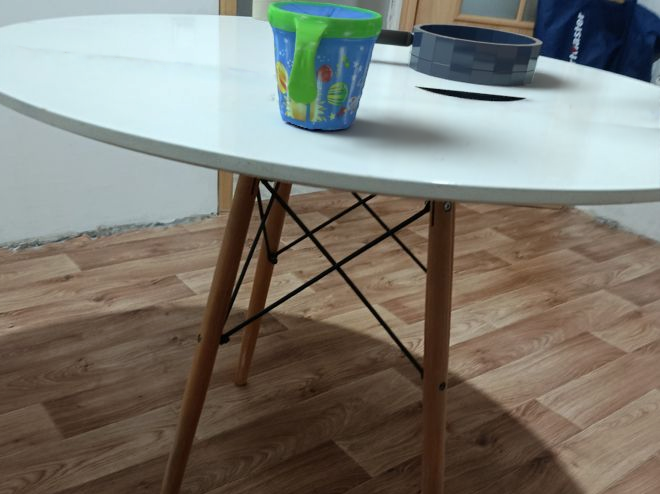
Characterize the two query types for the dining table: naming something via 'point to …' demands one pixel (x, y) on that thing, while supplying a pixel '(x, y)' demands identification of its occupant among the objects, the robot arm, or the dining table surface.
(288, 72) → the snack cup
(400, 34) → the pan handle
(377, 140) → the dining table surface
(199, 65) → the dining table surface
